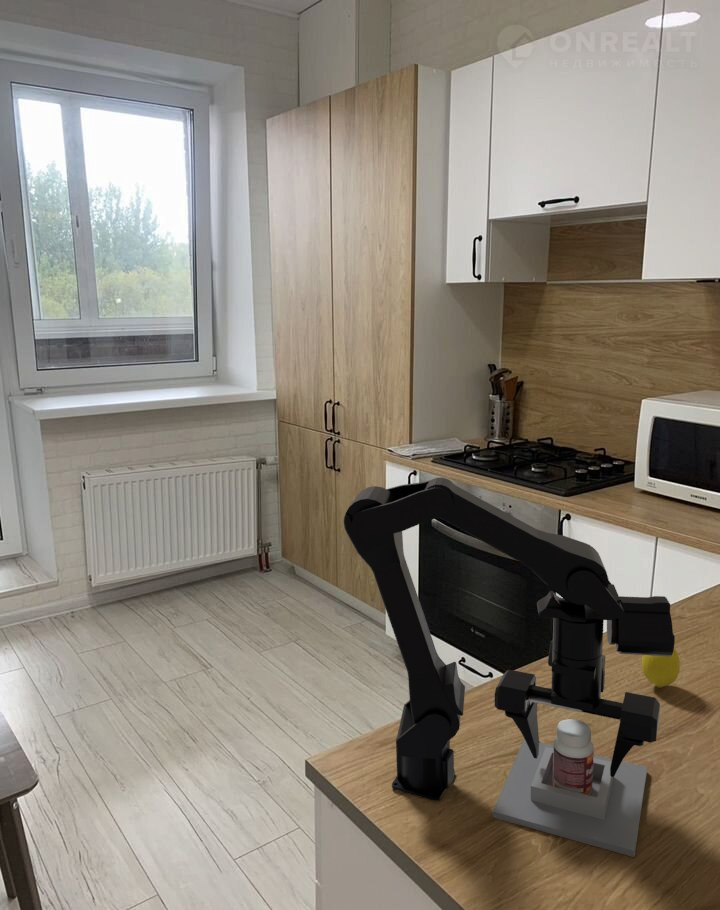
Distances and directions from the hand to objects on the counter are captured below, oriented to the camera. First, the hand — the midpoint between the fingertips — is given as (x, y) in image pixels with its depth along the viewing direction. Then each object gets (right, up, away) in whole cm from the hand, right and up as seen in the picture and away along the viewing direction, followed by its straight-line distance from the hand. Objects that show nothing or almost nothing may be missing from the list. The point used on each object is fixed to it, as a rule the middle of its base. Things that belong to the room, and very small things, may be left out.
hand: (573, 765), depth 89 cm
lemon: (+21, +2, +25) cm, 32 cm away
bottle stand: (0, -4, +1) cm, 4 cm away
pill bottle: (0, -3, +1) cm, 3 cm away
